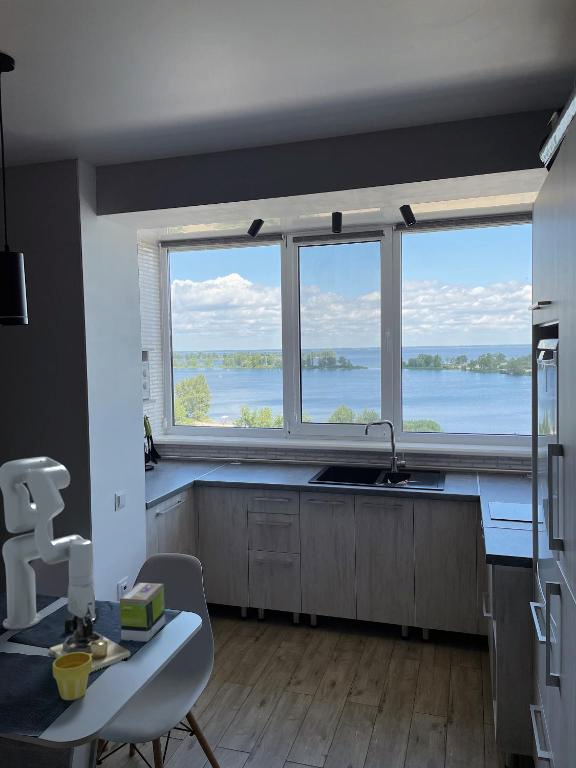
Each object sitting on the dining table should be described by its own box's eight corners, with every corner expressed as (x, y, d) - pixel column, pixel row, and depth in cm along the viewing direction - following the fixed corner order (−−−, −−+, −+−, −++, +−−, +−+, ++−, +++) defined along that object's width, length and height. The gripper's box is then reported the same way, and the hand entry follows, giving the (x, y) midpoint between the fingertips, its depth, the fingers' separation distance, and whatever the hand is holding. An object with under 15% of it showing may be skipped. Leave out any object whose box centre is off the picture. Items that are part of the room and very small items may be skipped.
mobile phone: (68, 621, 207) (102, 604, 220) (62, 619, 208) (96, 603, 221) (68, 635, 207) (102, 618, 220) (63, 633, 209) (97, 616, 221)
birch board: (49, 652, 194) (49, 648, 193) (94, 635, 205) (94, 631, 205) (83, 675, 179) (83, 670, 179) (130, 656, 190) (130, 651, 190)
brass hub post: (87, 656, 188) (87, 643, 188) (102, 650, 191) (102, 638, 191) (96, 661, 184) (95, 648, 184) (110, 655, 188) (110, 642, 188)
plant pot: (64, 683, 174) (63, 650, 174) (98, 685, 173) (97, 651, 173) (46, 703, 164) (45, 668, 164) (82, 705, 163) (81, 670, 163)
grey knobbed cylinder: (86, 647, 191) (85, 610, 191) (69, 645, 192) (68, 608, 192) (95, 638, 197) (94, 602, 197) (79, 637, 198) (78, 601, 198)
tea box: (139, 621, 216) (139, 581, 216) (165, 623, 214) (165, 583, 214) (120, 640, 202) (119, 597, 201) (147, 642, 200) (146, 599, 199)
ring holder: (57, 646, 194) (57, 640, 194) (90, 634, 203) (90, 628, 203) (75, 658, 186) (75, 651, 186) (108, 645, 195) (108, 639, 195)
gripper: (57, 575, 197) (59, 629, 198) (84, 588, 185) (85, 645, 186) (79, 569, 203) (80, 622, 203) (105, 582, 191) (106, 637, 192)
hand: (82, 632), depth 195 cm, fingers closed on grey knobbed cylinder, 5 cm apart
